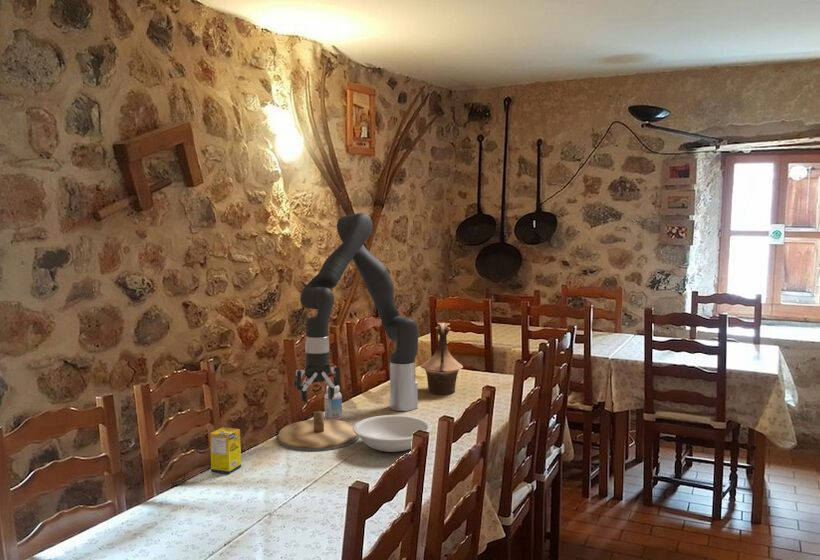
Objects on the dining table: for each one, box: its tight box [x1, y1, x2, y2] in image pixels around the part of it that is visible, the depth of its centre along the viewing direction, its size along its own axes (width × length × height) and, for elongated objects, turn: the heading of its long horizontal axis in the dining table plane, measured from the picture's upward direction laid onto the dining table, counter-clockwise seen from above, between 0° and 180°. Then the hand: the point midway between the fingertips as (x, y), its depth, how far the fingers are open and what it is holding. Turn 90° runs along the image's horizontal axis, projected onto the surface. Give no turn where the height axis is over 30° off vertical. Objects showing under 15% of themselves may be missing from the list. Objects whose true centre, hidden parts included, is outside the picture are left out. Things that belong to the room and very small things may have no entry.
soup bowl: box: [353, 414, 433, 453], centre depth 200 cm, size 24×24×7 cm
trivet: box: [276, 433, 360, 452], centre depth 210 cm, size 26×26×1 cm
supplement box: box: [209, 426, 242, 475], centre depth 183 cm, size 6×6×11 cm
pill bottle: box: [323, 385, 343, 420], centre depth 229 cm, size 6×6×11 cm
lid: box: [278, 410, 358, 449], centre depth 210 cm, size 25×25×7 cm
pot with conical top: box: [420, 322, 464, 395], centre depth 263 cm, size 18×17×28 cm
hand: (317, 400), depth 209 cm, fingers open, 8 cm apart
